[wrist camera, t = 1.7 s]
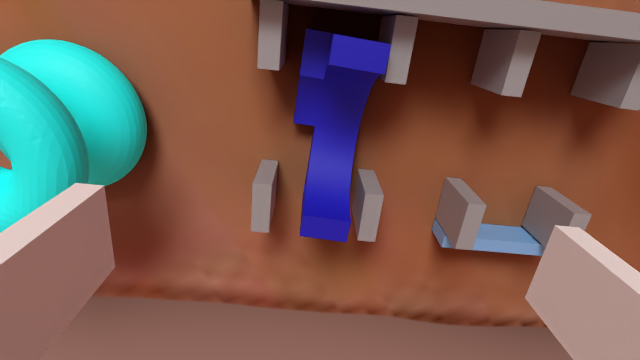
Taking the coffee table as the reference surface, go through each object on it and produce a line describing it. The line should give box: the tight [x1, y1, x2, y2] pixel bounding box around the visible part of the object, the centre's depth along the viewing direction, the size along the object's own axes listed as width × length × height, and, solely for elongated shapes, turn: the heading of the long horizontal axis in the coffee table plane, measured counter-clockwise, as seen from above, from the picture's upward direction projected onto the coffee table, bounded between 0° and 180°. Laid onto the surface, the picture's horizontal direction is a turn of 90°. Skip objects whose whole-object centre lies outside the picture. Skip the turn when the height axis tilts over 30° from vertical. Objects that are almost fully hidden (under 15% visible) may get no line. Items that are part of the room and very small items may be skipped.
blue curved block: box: [293, 29, 392, 242], centre depth 23 cm, size 12×4×6 cm, turn 170°
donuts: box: [0, 40, 147, 233], centre depth 21 cm, size 10×10×10 cm
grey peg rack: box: [251, 0, 640, 256], centre depth 23 cm, size 25×16×6 cm, turn 84°
